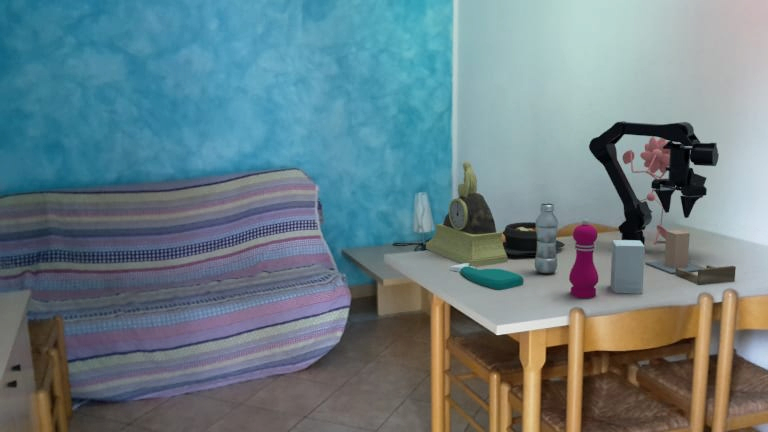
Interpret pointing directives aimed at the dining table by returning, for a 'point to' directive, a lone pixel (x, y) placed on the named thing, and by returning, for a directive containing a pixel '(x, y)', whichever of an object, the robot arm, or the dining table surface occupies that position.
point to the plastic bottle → (546, 239)
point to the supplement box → (627, 266)
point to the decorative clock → (469, 228)
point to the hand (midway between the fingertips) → (676, 215)
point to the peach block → (677, 248)
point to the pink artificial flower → (652, 167)
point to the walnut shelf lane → (709, 275)
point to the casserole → (522, 239)
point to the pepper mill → (584, 262)
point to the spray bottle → (489, 276)
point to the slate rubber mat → (671, 270)
